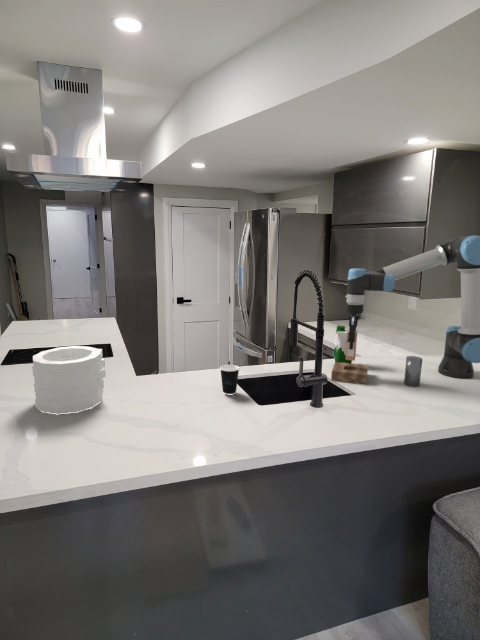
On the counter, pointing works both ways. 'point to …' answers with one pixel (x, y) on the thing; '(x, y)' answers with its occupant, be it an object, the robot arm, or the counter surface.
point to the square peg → (354, 347)
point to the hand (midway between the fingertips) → (350, 354)
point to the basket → (68, 378)
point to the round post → (413, 371)
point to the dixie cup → (229, 378)
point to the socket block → (349, 373)
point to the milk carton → (341, 345)
